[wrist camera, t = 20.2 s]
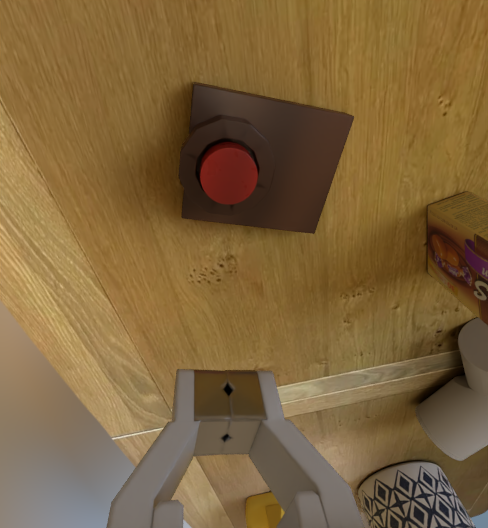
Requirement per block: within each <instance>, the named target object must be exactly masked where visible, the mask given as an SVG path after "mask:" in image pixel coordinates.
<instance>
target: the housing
mask: <svg viewBox="0 0 488 528" xmlns="http://www.w3.org/2000/svg"><path fill="white" fill-rule="evenodd" d="M353 119H354V116H352V115H349V114H347V113H343V112H338V111H333V110H328V109H324V108H319V107H314V106H309V105H304V104H299V103H294V102H290V101H285V100H280V99H275V98H270V97H265V96H260V95H255V94H251V93H246V92H241V91H236V90H231V89H226V88H221V87H217V86H212V85H207V84H202V83H197V82H194V84H193V94H192V105H191V116H190V127H189V135H188V137H187V138H186V140H185V141H184V142H183V144H182V146H181V152H180V165H179V179H180V181H181V183H182V185H183V187H184V195H183V206H182V218H185V219H193V220H202V221H210V222H219V223H227V224H236V225H244V226H253V227H261V228H270V229H278V230H287V231H296V232H304V233H313V234H314V233H315V230H316V227H317V224H318V221H319V218H320V215H321V212H322V209H323V206H324V204H325V201H326V198H327V195H328V192H329V189H330V186H331V183H332V180H333V177H334V174H335V172H336V169H337V166H338V163H339V160H340V157H341V154H342V151H343V148H344V145H345V142H346V139H347V137H348V134H349V131H350V128H351V125H352V122H353ZM221 142H233V143H237V144H239V145H241V146H243V147H244V148H245V149H246V150H247V151H248V152H249V153H250V155H251V157H252V159H253V161H254V162H255V165H256V167H257V172H258V179H257V184H256V187H255V189H254V190H253V192H252V193H251V195H250V196H249V197H248V198H246V199H245V200H243V201H241V202H239V203H236V204H229V205H228V204H221V203H218V202H216V201H214V200H212V199H211V198H210V197H209V196H208V195H207V194H206V193H205V191H204V190H203V188H202V185H201V181H200V164H201V160H202V158H203V156H204V154H205V153H206V152H207V150H208V149H209V148H211V147H212V146H214V145H216V144H218V143H221Z"/></svg>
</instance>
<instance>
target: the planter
mask: <svg viewBox="0 0 488 528" xmlns="http://www.w3.org/2000/svg"><path fill="white" fill-rule="evenodd" d="M358 496H359V499H360V502H361V505H362V508H363V511H364V513H365V516H366V519H367V522H368V524H369V527H370V528H476V527H475V525H474V524H473V522H472V520H471V518H470V517H469V515H468V513H467V512H466V510H465V508H464V507H463V505H462V503H461V501H460V500H459V498H458V496H457V495H456V493H455V491H454V490H453V488H452V486H451V484H450V483H449V481H448V479H447V478H446V476H445V474H444V473H443V471H442V469H441V468H440V467H439V466H438V465H436V464H433V463H430V462H424V461H413V462H406V463H401V464H397V465H393V466H390V467H388V468H385V469H383V470H381V471H378V472H377V473H375V474H373V475H372V476H370V477H369V478H367V479H366V480H365V481H364V482H363V483H362V485H361V486H360V488H359V490H358Z"/></svg>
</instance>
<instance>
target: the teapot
mask: <svg viewBox="0 0 488 528" xmlns="http://www.w3.org/2000/svg"><path fill="white" fill-rule="evenodd" d="M284 513H285V512H284V511H283V509H282V508H281V506H280V504H279V503H278V501H277V500H276V498H275V496H274V495H273V493H272V492H269V493H264V494H259V495H255V496H251V497H248V498H247V501H246V524H247V528H276V526H277V525H278V523H279V522H280V520H281V518H282V517H283V515H284Z"/></svg>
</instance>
